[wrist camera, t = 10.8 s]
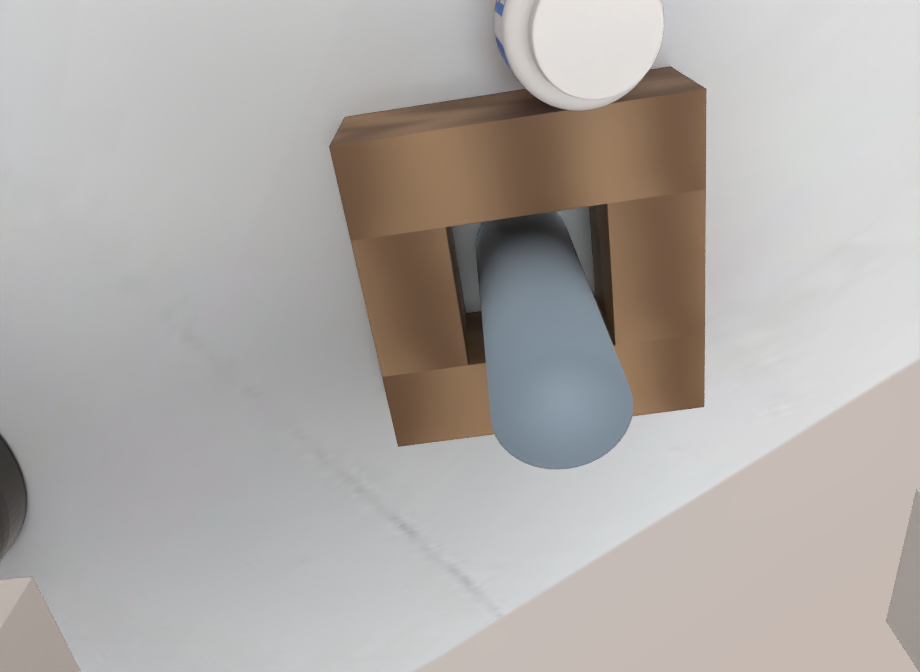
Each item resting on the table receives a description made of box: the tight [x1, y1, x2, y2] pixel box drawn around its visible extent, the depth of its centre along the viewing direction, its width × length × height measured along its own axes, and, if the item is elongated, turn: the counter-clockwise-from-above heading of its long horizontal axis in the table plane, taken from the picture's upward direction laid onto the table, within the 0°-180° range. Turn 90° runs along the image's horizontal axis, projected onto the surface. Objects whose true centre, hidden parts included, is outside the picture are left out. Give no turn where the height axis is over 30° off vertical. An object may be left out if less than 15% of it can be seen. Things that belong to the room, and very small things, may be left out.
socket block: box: [329, 67, 706, 447], centre depth 34 cm, size 14×14×5 cm
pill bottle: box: [494, 0, 664, 111], centre depth 27 cm, size 6×5×10 cm
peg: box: [476, 211, 633, 469], centre depth 30 cm, size 4×4×14 cm
